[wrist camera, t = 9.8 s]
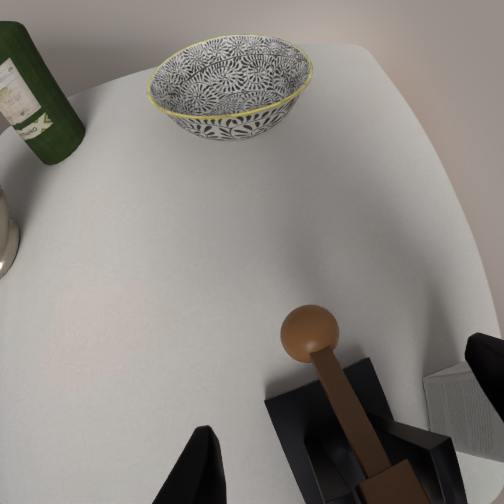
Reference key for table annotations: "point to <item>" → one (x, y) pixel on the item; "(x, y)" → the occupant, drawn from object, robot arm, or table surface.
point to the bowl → (230, 85)
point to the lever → (349, 409)
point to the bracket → (340, 452)
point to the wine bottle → (35, 98)
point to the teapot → (7, 236)
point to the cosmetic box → (464, 412)
